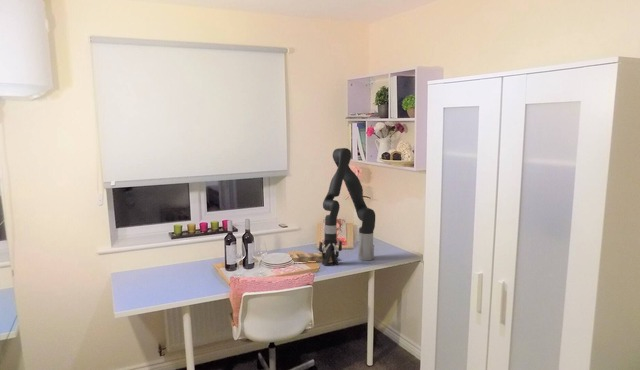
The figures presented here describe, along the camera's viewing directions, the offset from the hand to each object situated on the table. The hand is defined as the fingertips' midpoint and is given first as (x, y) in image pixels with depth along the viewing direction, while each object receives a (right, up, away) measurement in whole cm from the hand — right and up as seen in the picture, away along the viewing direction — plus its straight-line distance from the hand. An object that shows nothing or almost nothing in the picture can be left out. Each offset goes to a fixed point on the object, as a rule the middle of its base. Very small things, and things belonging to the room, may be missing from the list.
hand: (330, 257), depth 275 cm
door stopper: (0, -4, 0) cm, 4 cm away
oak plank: (-11, -3, +7) cm, 14 cm away
